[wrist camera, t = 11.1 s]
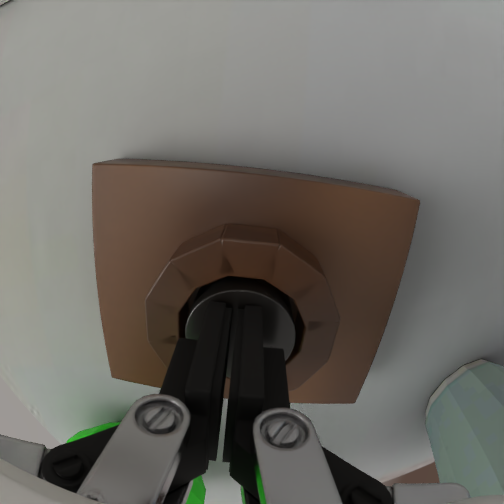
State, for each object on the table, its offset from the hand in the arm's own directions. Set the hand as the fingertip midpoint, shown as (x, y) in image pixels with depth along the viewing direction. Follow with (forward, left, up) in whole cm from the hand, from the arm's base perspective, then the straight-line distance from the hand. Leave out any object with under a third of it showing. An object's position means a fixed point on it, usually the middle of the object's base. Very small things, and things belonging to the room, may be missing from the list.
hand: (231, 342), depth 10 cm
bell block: (0, 0, -4) cm, 4 cm away
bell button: (0, 0, -2) cm, 2 cm away
